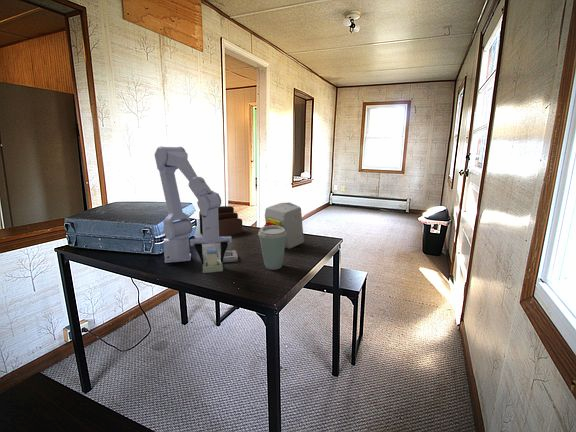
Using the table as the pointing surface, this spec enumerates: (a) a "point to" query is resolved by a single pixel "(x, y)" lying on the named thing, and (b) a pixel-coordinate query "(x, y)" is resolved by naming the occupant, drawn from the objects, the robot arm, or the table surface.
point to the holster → (212, 267)
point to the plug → (212, 257)
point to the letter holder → (226, 221)
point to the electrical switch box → (286, 222)
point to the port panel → (227, 256)
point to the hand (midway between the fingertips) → (212, 262)
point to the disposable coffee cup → (272, 245)
